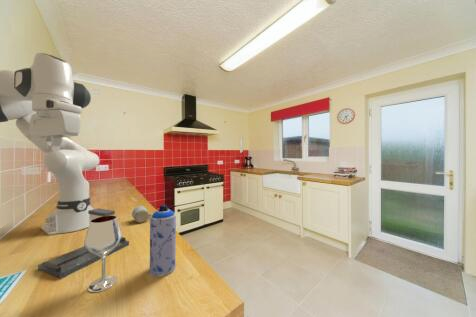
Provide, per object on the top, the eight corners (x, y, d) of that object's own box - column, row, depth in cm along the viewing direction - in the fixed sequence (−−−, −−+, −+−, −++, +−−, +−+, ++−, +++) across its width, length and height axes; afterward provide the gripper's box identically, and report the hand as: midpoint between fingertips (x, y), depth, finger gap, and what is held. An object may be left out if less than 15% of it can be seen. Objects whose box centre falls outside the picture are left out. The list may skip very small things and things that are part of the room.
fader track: (37, 269, 53) (37, 261, 53) (108, 239, 73) (108, 234, 73) (60, 279, 49) (60, 270, 49) (129, 244, 69) (129, 238, 69)
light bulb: (134, 225, 89) (134, 210, 90) (131, 220, 96) (132, 206, 96) (156, 220, 96) (156, 207, 96) (152, 217, 103) (152, 204, 103)
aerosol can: (150, 264, 56) (150, 203, 56) (175, 259, 59) (176, 201, 59) (147, 280, 49) (148, 210, 49) (176, 273, 52) (176, 207, 52)
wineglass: (98, 274, 51) (99, 214, 51) (127, 273, 52) (127, 213, 52) (74, 296, 43) (75, 225, 43) (109, 294, 44) (109, 224, 44)
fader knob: (88, 245, 65) (88, 210, 65) (98, 241, 68) (98, 208, 68) (104, 250, 61) (105, 213, 62) (114, 245, 65) (114, 210, 65)
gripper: (21, 108, 55) (21, 151, 55) (58, 101, 48) (58, 150, 48) (49, 113, 61) (48, 151, 61) (85, 107, 54) (85, 151, 54)
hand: (53, 151), depth 54 cm, fingers closed
